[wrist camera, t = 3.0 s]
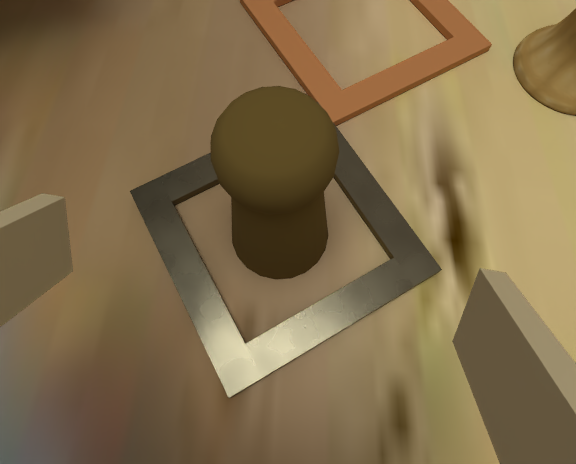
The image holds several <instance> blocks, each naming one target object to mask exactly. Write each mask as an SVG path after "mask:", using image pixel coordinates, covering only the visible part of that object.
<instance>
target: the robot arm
mask: <svg viewBox="0 0 576 464" xmlns="http://www.w3.org/2000/svg"><path fill="white" fill-rule="evenodd" d="M71 272H73V267H72V258H71V249H70V240H69V231H68V222H67V213H66V204H65V197H61V196H55V195H50V194H44V193H42V194H40V195H37V196H35V197H33V198H30V199H28V200H26V201H23V202H21V203H19V204H16V205H14V206H12V207H9V208H7V209H5V210H3V211H0V327H1V326H2V325H4V324H5V323H6V322H7V321H9V320H10V319H11V318H13V317H14V316H15V315H17V314H18V313H19V312H20V311H22V310H23V309H24V308H26V307H27V306H28V305H30V304H31V303H32V302H34V301H35V300H36V299H37V298H39V297H40V296H41V295H43V294H44V293H45V292H47V291H48V290H49V289H50V288H52V287H53V286H54V285H56V284H57V283H58V282H60V281H61V280H62V279H63V278H65V277H66V276H67V275H69V274H70V273H71ZM453 344H454V346H455V349H456V351H457V354H458V357H459V359H460V362H461V364H462V367H463V370H464V372H465V375H466V377H467V380H468V382H469V385H470V388H471V390H472V393H473V395H474V398H475V401H476V403H477V406H478V408H479V411H480V413H481V416H482V419H483V421H484V424H485V426H486V429H487V431H488V434H489V437H490V439H491V442H492V444H493V447H494V450H495V452H496V455H497V457H498V460H499V462H500V464H576V363H575V362H574V360H573V359H572V358H571V357H570V355H569V354H568V353H567V351H566V350H565V349H564V347H563V346H562V345H561V344H560V342H559V341H558V340H557V338H556V337H555V336H554V334H553V333H552V332H551V331H550V329H549V328H548V327H547V325H546V324H545V323H544V321H543V320H542V319H541V317H540V316H539V315H538V314H537V312H536V311H535V310H534V308H533V307H532V306H531V304H530V303H529V302H528V301H527V299H526V298H525V297H524V295H523V294H522V293H521V291H520V290H519V289H518V288H517V286H516V285H515V284H514V282H513V281H512V280H511V278H510V277H509V276H508V275H507V273H505V272H499V271H493V270H488V269H482V268H480V269H479V272H478V274H477V277H476V280H475V282H474V285H473V288H472V290H471V293H470V296H469V299H468V301H467V304H466V307H465V309H464V312H463V315H462V317H461V320H460V323H459V325H458V328H457V331H456V333H455V336H454V339H453Z"/></svg>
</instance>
